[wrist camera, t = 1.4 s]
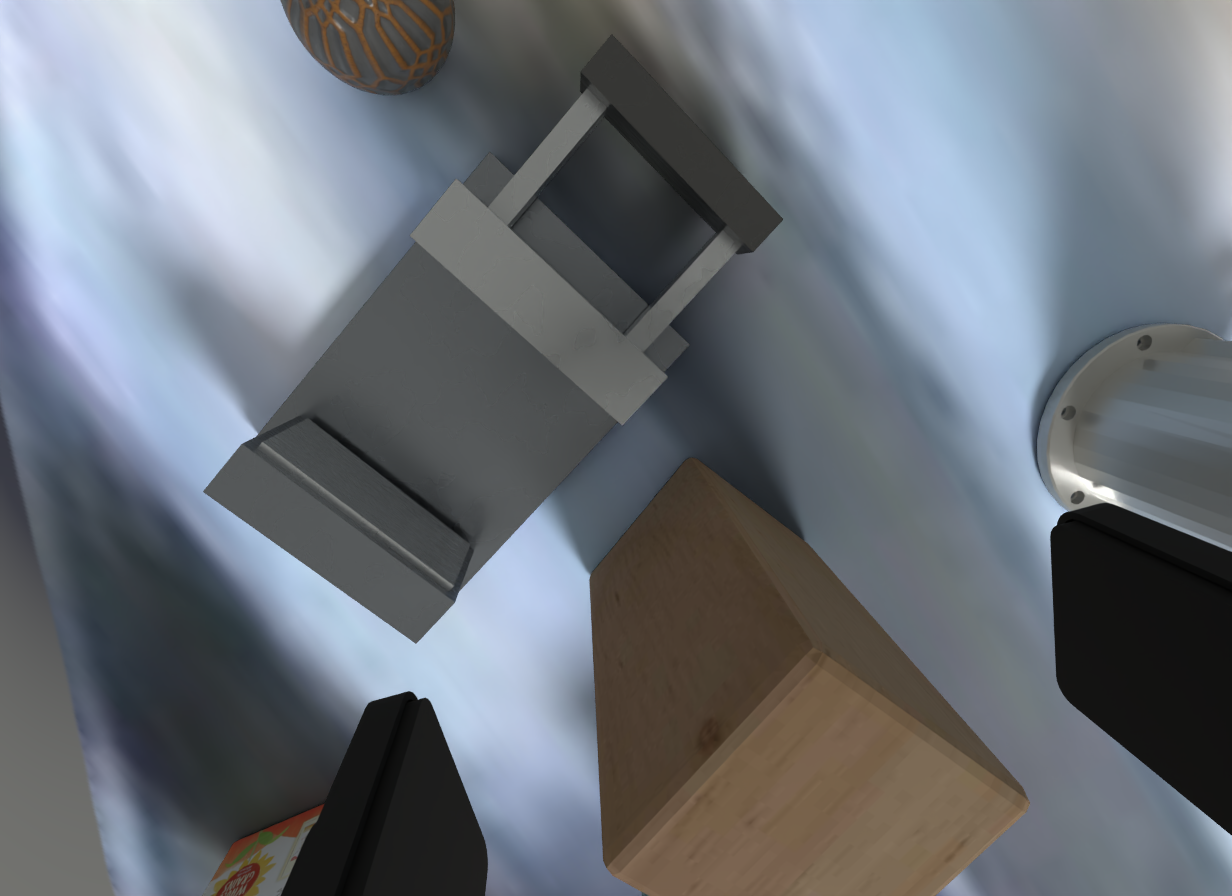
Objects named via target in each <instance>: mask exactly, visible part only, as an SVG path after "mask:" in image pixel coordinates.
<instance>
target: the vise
mask: <svg viewBox="0 0 1232 896" xmlns="http://www.w3.org/2000/svg"><path fill="white" fill-rule="evenodd" d="M513 177H514V175H513V174H512V173H511V172H510V171H509V170H508V169H507V168H506V167H505V166H504V165H503V164H502V163H501V162H500V161H499V160H498V159H497V158H496V157H495V156H494V155H493V154H491V153H490V152H489V153H488V154H487V156H486V157H485V158H484V159H483V160H482V162H481V163H480V164H479V165H478V167H477V168H476V169H475V170H474V171H473V173H472V174H471V175H470V176H469V178H468V179H467V180H466V181H465V182H464V184H463V185H464V186H466V187H467V188H468V189H469V190H470V191H471V192H473V193H474V194H475V195H476V196H477V197H479V198H480V199H481V200H482V201H483V202H484V203H485V204H486V205H487V206H488V207H489V205H490V204H491V203H492V202H493V201H494V199H495V198H496V197H497V196H498V195H499V193H500V192H501V191H502V190H503V189H504V187H505V186H506V185H507V184H508V183H509V181H510V180H511V179H512V178H513ZM511 228H512V229H513V230H514V231H515V232H516V233H517V234H518V235H519V236H520V237H521V238H522V239H523V240H524V241H525V242H526V243H528V244H529V245H530V246H531V247H532V248H533V249H534V250H535V251H536V252H537V253H538V254H539V255H540V256H541V257H542V258H543V259H545V260H546V261H547V262H548V263H549V264H550V265H551V266H552V267H553V268H554V269H555V270H556V271H557V272H558V273H559V274H561V275H562V276H563V277H564V278H565V279H566V280H567V281H568V282H569V283H570V284H571V285H572V286H573V287H574V288H575V289H576V290H578V291H579V292H580V293H581V294H582V295H583V296H584V297H585V298H586V299H587V300H588V301H589V302H590V303H591V304H592V305H594V306H595V307H596V308H597V309H598V310H599V311H600V312H601V313H602V314H603V315H604V316H605V317H606V318H607V319H608V320H610V321H611V322H612V323H613V324H614V325H615V326H616V327H617V328H618V329H619V330H620V331H621V332H622V333H623V334H624V333H625V332H626V331H627V329H628V328H629V327H630V326H631V325H632V324H633V323H634V322H635V321H636V320H637V318H638V317H639V316H640V315H641V314H642V313H643V312H644V311H645V310H646V309H647V308H648V306H649V305H648V304H647V303H646V302H645V301H644V300H643V299H642V298H641V297H640V296H639V295H638V294H637V293H636V292H635V291H633V290H632V289H631V288H630V287H629V286H628V285H627V284H626V283H625V282H624V281H623V280H622V279H621V278H620V277H619V276H618V275H617V274H616V273H615V272H614V271H613V270H612V269H611V268H610V267H609V266H608V265H607V264H605V263H604V262H603V261H602V260H601V259H600V258H599V257H598V256H597V255H596V254H595V253H594V252H593V251H592V250H591V249H590V248H589V247H588V246H587V245H586V244H585V243H584V242H583V241H582V240H581V239H580V238H579V237H578V236H576V235H575V234H574V233H573V232H572V231H571V230H570V229H569V228H568V227H567V226H566V225H565V224H564V223H563V222H562V221H561V220H560V219H559V218H558V217H557V216H556V215H555V214H554V213H553V212H552V211H551V210H550V209H548V208H547V207H546V206H545V205H544V204H543V203H542V202H541V201H540V200H539V199H538V198H536V199H535V200H534V201H533V202H532V204H531V205H530V206H529V207H528V208H527V210H526V211H525V212H524V213H523V214H522V215H521V217H520V218H519V219H518V220H517V221H516V223H515V224H514V225H513V226H512V227H511ZM688 346H689V344H688V343H687V342H686V341H685V340H684V339H683V338H682V337H681V336H680V335H679V334H678V333H677V332H676V331H675V330H674V329H673V328H672V327H671V326H670V325H668V326H667V327H666V328H665V329H664V330H663V331H662V332H661V334H660V335H659V336H658V337H657V338H656V339H655V340H654V341H653V342H652V343H651V344H650V345H649V347H648V348H647V349H646V350H645V351H644V353H645V354H646V355H647V356H648V357H649V358H650V359H651V360H652V361H653V362H654V363H655V364H656V365H657V366H658V367H659V368H660V369H661V370H662V371H663V372H665V371H666V370H667V369H668V368H669V367H670V365H671V364H672V363H673V362H674V361H675V360H676V359H677V358H678V357H679V356H680V355H681V354H682V353H683V352H684V350H685V349H686V348H687V347H688ZM617 422H618V421H617V420H615V419H614V418H613V417H612V416H611V415H610V414H609V413H608V412H606V411H605V410H604V409H603V408H602V407H601V406H600V405H599V404H597V403H596V402H595V401H594V400H593V399H592V398H591V397H590V396H589V395H587V394H586V393H585V392H584V391H583V390H582V389H581V388H580V387H578V386H577V385H576V384H575V383H574V382H573V381H572V380H571V379H569V378H568V377H567V376H566V375H565V374H564V373H563V372H562V371H561V370H559V369H558V368H557V367H556V366H555V365H554V364H553V363H552V362H550V361H549V360H548V359H547V358H546V357H545V356H544V355H543V354H541V353H540V352H539V351H538V350H537V349H536V348H535V347H534V346H533V345H531V344H530V343H529V342H528V341H527V340H526V339H525V338H524V337H522V336H521V335H520V334H519V333H518V332H517V331H516V330H515V329H514V328H512V327H511V326H510V325H509V324H508V323H507V322H506V321H505V320H503V319H502V318H501V317H500V316H499V315H498V314H497V313H496V312H494V311H493V310H492V309H491V308H490V307H489V306H488V305H487V304H486V303H484V302H483V301H482V300H481V299H480V298H479V297H478V296H477V295H475V294H474V293H473V292H472V291H471V290H470V289H469V288H468V287H466V286H465V285H464V284H463V283H462V282H461V281H460V280H459V279H458V278H456V277H455V276H454V275H453V274H452V273H451V272H450V271H449V270H447V269H446V268H445V267H444V266H443V265H442V264H441V263H440V262H438V261H437V260H436V259H435V258H434V257H433V256H432V255H431V254H430V253H428V252H427V251H426V250H425V249H424V248H423V247H422V246H421V245H419V244H418V243H417V242H415V243H414V245H413V246H412V247H411V248H410V250H409V251H408V252H407V253H406V254H405V256H404V257H403V258H402V259H401V261H400V262H399V263H398V264H397V265H396V267H395V268H394V269H393V270H392V272H391V273H390V274H389V275H388V276H387V278H386V279H385V280H384V281H383V283H382V284H381V285H380V286H379V287H378V289H377V290H376V291H375V292H374V294H373V295H372V296H371V297H370V298H369V300H368V301H367V302H366V303H365V305H364V306H363V307H362V308H361V309H360V311H359V312H358V313H357V314H356V316H355V317H354V318H353V319H352V320H351V322H350V323H349V324H348V325H347V326H346V328H345V329H344V330H343V331H342V333H341V334H340V335H339V336H338V337H337V339H336V340H335V341H334V342H333V344H332V345H331V346H330V347H329V348H328V350H327V351H326V352H325V353H324V355H323V356H322V357H321V358H320V359H319V361H318V362H317V363H316V364H315V366H314V367H313V368H312V369H311V370H310V372H309V373H308V374H307V375H306V377H305V378H304V379H303V380H302V381H301V383H300V384H299V385H298V386H297V388H296V389H295V390H294V391H293V392H292V394H291V395H290V396H289V397H288V399H287V400H286V401H285V402H284V403H283V405H282V406H281V407H280V408H279V410H278V411H277V412H276V413H275V414H274V416H273V417H272V418H271V419H270V421H269V422H268V423H267V424H266V425H265V427H264V428H263V429H262V430H261V432H260V433H259V434H258V435H257V436H256V437H255V438H253V439H251V440H249V441H247V442H245V443H243V444H241V446H240V447H239V448H238V449H237V451H236V452H235V453H234V454H233V455H232V457H231V458H230V459H229V460H228V462H227V463H226V464H225V465H224V466H223V468H222V469H221V470H220V471H219V473H218V474H217V475H216V476H215V478H214V479H213V480H212V481H211V482H210V484H209V485H208V486H207V487H206V489H205V490H204V491H203V492H204V493H205V494H207V495H208V496H210V497H211V498H212V499H214V500H215V501H217V502H218V503H219V504H221V505H222V506H224V507H225V508H226V509H228V510H229V511H231V512H232V513H233V514H235V515H236V516H238V517H239V518H240V519H242V520H243V521H245V522H246V523H248V524H249V525H250V526H252V527H253V528H255V529H256V530H257V531H259V532H260V533H262V534H263V535H264V536H266V537H267V538H269V539H270V540H271V541H273V542H274V543H276V544H277V545H278V546H280V547H281V548H283V549H284V550H285V551H287V552H288V553H290V554H291V555H292V556H294V557H295V558H297V559H298V560H299V561H301V562H302V563H304V564H305V565H306V566H308V567H309V568H311V569H312V570H313V571H315V572H316V573H318V574H319V575H320V576H322V577H323V578H325V579H326V580H327V581H329V582H330V583H332V584H333V585H334V586H336V587H337V588H339V589H340V590H341V591H343V592H344V593H346V594H347V595H348V596H350V597H351V598H353V599H354V600H355V601H357V602H358V603H360V604H361V605H362V606H364V607H365V608H367V609H368V610H370V611H371V612H372V613H374V614H375V615H377V616H378V617H379V618H381V619H382V620H384V621H385V622H386V623H388V624H389V625H391V626H392V627H393V628H395V629H396V630H398V631H399V632H400V633H402V634H403V635H405V636H406V637H407V638H409V639H410V640H412V641H413V642H414V643H417V642H418V641H419V640H420V639H421V638H422V637H423V636H424V635H425V634H426V633H427V632H428V631H429V630H430V629H431V627H432V626H433V625H434V624H435V623H436V622H437V621H438V620H439V619H440V618H441V617H442V616H443V615H444V614H445V613H446V611H447V610H448V609H449V608H450V607H451V606H452V605H453V604H454V603H455V601H456V598H457V595H458V593H459V591H460V590H461V589H462V588H463V587H464V586H465V585H466V584H467V583H468V581H469V580H470V579H471V578H472V577H473V576H474V575H475V574H476V573H477V572H478V571H479V570H480V569H481V568H482V566H483V565H484V564H485V563H486V562H487V561H488V560H489V559H490V558H491V557H492V556H493V555H494V554H495V553H496V552H497V550H498V549H499V548H500V547H501V546H502V545H503V544H504V543H505V542H506V541H507V540H508V539H509V538H510V537H511V535H512V534H513V533H514V532H515V531H516V530H517V529H518V528H519V527H520V526H521V525H522V524H523V523H524V522H525V520H526V519H527V518H528V517H529V516H530V515H531V514H532V513H533V512H534V511H535V510H536V509H537V508H538V507H539V506H540V504H541V503H542V502H543V501H544V500H545V499H546V498H547V497H548V496H549V495H550V494H551V493H552V492H553V491H554V489H555V488H556V487H557V486H558V485H559V484H560V483H561V482H562V481H563V480H564V479H565V478H566V477H567V476H568V475H569V473H570V472H571V471H572V470H573V469H574V468H575V467H576V466H577V465H578V464H579V463H580V462H581V461H582V460H583V458H584V457H585V456H586V455H587V454H588V453H589V452H590V451H591V450H592V449H593V448H594V447H595V446H596V445H597V444H598V442H599V441H600V440H601V439H602V438H603V437H604V436H605V435H606V434H607V433H608V432H609V431H610V430H611V429H612V427H613V426H614V425H615V424H616V423H617Z"/></svg>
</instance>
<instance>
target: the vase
mask: <svg viewBox="0 0 1232 896" xmlns="http://www.w3.org/2000/svg"><path fill="white" fill-rule="evenodd" d="M281 3H282V6H283V9H284V11H285V14H286V16H287V18H288V20H289V22H290V24H291V26H292V28H293V30H294V32H295V34H296V35H297V37H298V38H299V40H300V41H301V43H302V44H303V46H304V47H305V48H306V49H307V51H308V52H309V53H310V54H311V55H312V57H313V58H314V59H315V60H316V61H317V62H318V63H320V64H321V65H322V66H323V67H324V68H325V69H326V70H328V71H329V72H330V73H331V74H333V75H334V76H335V77H337V78H338V79H340V80H341V81H343V82H345V83H347V84H349V85H350V86H352V87H355V88H357V89H359V90H362V91H365V92H368V93H373V94H379V95H399V94H404V93H408V92H411V91H413V90H416V89H418V88H420V87H421V86H423V85H425V84H426V83H427V82H429V81H430V80H431V79H432V78H433V77H434V76H435V75H436V74H437V73H438V71H439V70H440V69H441V67H442V66H443V64H444V62H445V60H446V58H447V56H448V54H449V51H450V48H451V45H452V41H453V36H454V27H455V8H454V1H453V0H281Z"/></svg>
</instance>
